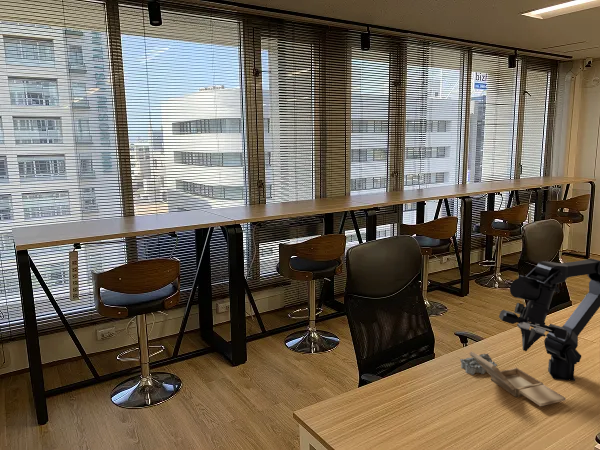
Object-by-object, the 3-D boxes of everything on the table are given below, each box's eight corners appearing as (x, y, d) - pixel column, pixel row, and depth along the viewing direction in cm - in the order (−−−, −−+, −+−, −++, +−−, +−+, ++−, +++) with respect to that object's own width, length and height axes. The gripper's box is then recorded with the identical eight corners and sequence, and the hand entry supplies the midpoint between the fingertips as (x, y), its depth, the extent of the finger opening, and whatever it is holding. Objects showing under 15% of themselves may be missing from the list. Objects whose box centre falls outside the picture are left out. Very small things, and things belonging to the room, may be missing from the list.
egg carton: (488, 364, 164) (489, 352, 164) (498, 374, 157) (499, 362, 156) (458, 365, 164) (458, 354, 163) (466, 375, 156) (467, 364, 156)
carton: (516, 374, 156) (516, 367, 155) (566, 405, 138) (566, 397, 137) (490, 380, 153) (491, 372, 152) (538, 412, 135) (539, 403, 134)
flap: (492, 372, 152) (471, 350, 148) (515, 387, 142) (493, 364, 138) (489, 375, 152) (468, 353, 148) (512, 390, 142) (491, 367, 138)
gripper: (562, 306, 153) (547, 353, 154) (502, 289, 156) (488, 334, 158) (575, 314, 142) (559, 363, 143) (510, 295, 146) (495, 343, 147)
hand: (524, 350), depth 148 cm, fingers closed
